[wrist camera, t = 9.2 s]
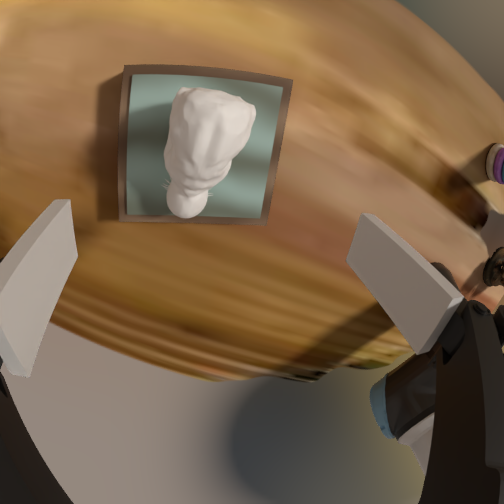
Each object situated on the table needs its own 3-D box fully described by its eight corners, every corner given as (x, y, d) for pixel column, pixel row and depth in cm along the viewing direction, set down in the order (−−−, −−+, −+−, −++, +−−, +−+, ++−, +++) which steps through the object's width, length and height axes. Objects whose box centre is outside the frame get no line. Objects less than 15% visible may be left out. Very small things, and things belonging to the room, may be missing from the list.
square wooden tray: (258, 211, 36) (267, 227, 32) (125, 206, 31) (118, 223, 28) (280, 80, 28) (294, 79, 24) (131, 68, 23) (123, 64, 20)
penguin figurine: (272, 108, 17) (220, 254, 23) (249, 94, 24) (212, 204, 30) (176, 83, 15) (142, 241, 21) (182, 77, 22) (153, 193, 28)
